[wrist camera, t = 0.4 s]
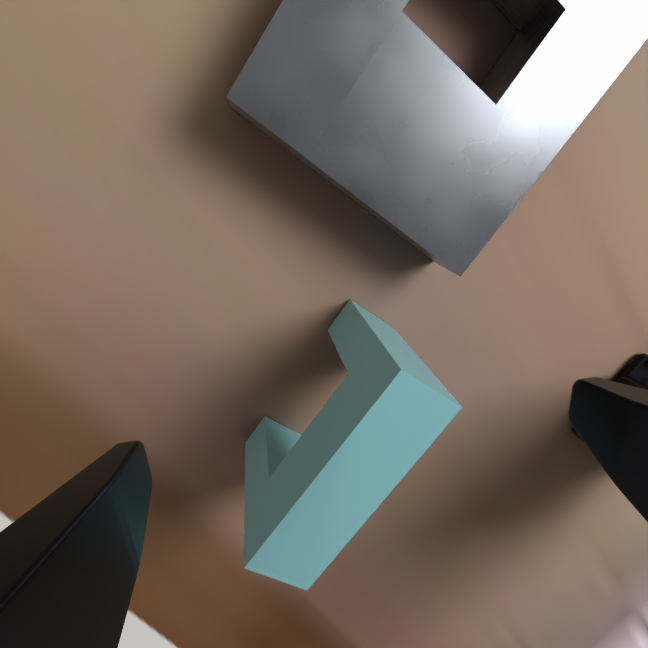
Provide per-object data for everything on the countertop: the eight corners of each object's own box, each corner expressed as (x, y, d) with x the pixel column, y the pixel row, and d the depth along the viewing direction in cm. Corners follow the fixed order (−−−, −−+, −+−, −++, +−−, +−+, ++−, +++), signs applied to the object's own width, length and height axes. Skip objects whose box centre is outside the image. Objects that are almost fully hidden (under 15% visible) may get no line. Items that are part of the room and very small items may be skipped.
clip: (393, 328, 23) (462, 407, 16) (289, 463, 25) (307, 590, 18) (350, 299, 22) (401, 369, 15) (245, 443, 24) (244, 568, 17)
